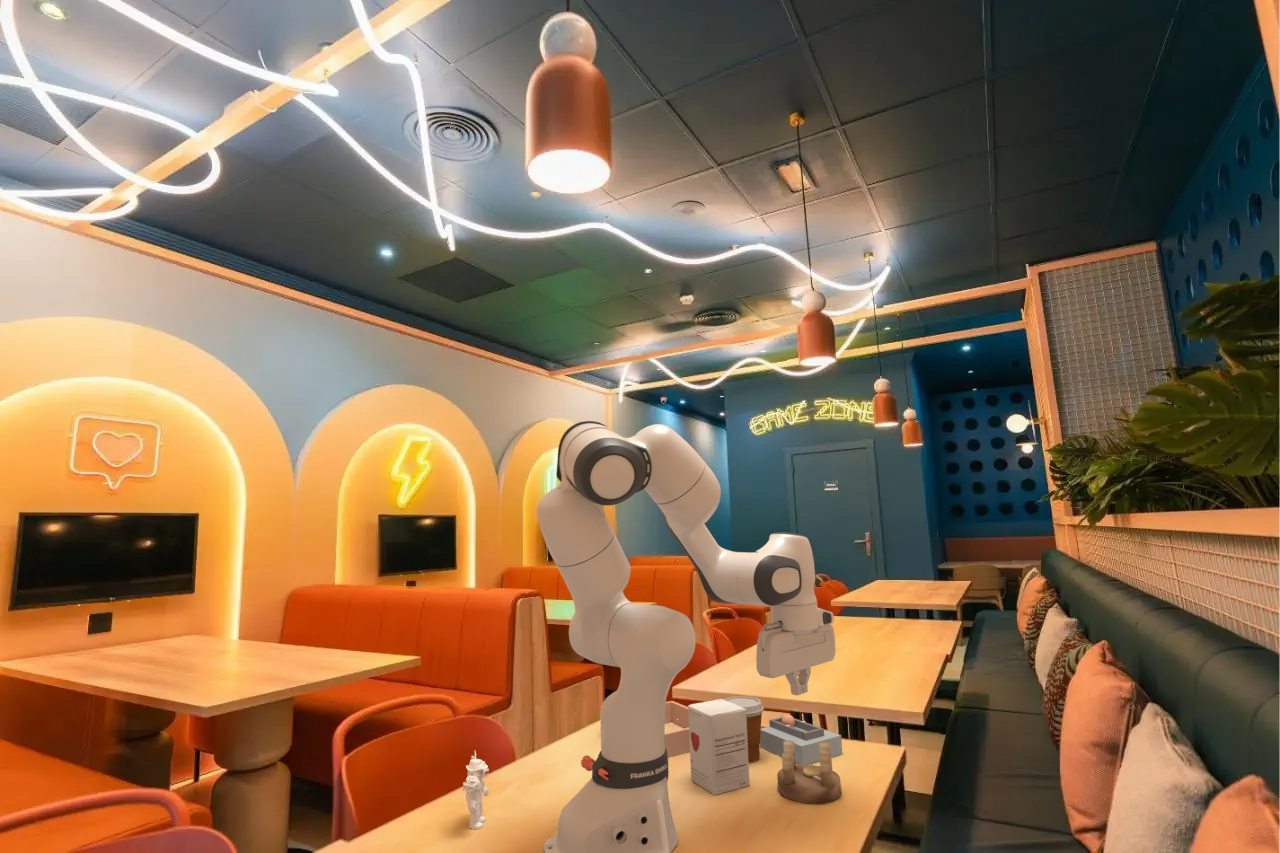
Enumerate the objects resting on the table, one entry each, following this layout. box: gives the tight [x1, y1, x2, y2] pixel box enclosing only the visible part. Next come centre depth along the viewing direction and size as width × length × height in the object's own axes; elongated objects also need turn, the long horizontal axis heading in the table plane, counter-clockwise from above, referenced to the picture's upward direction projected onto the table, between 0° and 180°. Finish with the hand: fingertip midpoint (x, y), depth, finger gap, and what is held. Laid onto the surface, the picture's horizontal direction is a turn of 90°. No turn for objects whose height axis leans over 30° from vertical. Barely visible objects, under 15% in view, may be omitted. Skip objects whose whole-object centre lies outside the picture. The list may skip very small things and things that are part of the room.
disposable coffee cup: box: [724, 695, 764, 763], centre depth 145 cm, size 10×10×12 cm
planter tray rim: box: [665, 700, 690, 758], centre depth 158 cm, size 21×22×5 cm
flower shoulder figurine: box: [462, 750, 490, 830], centre depth 117 cm, size 9×4×12 cm, turn 178°
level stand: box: [760, 716, 843, 765], centre depth 148 cm, size 12×14×6 cm
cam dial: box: [776, 740, 842, 804], centre depth 126 cm, size 12×12×8 cm
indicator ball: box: [782, 714, 795, 727], centre depth 151 cm, size 3×3×3 cm
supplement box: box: [687, 698, 751, 796], centre depth 132 cm, size 9×9×15 cm
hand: (799, 693), depth 121 cm, fingers closed
